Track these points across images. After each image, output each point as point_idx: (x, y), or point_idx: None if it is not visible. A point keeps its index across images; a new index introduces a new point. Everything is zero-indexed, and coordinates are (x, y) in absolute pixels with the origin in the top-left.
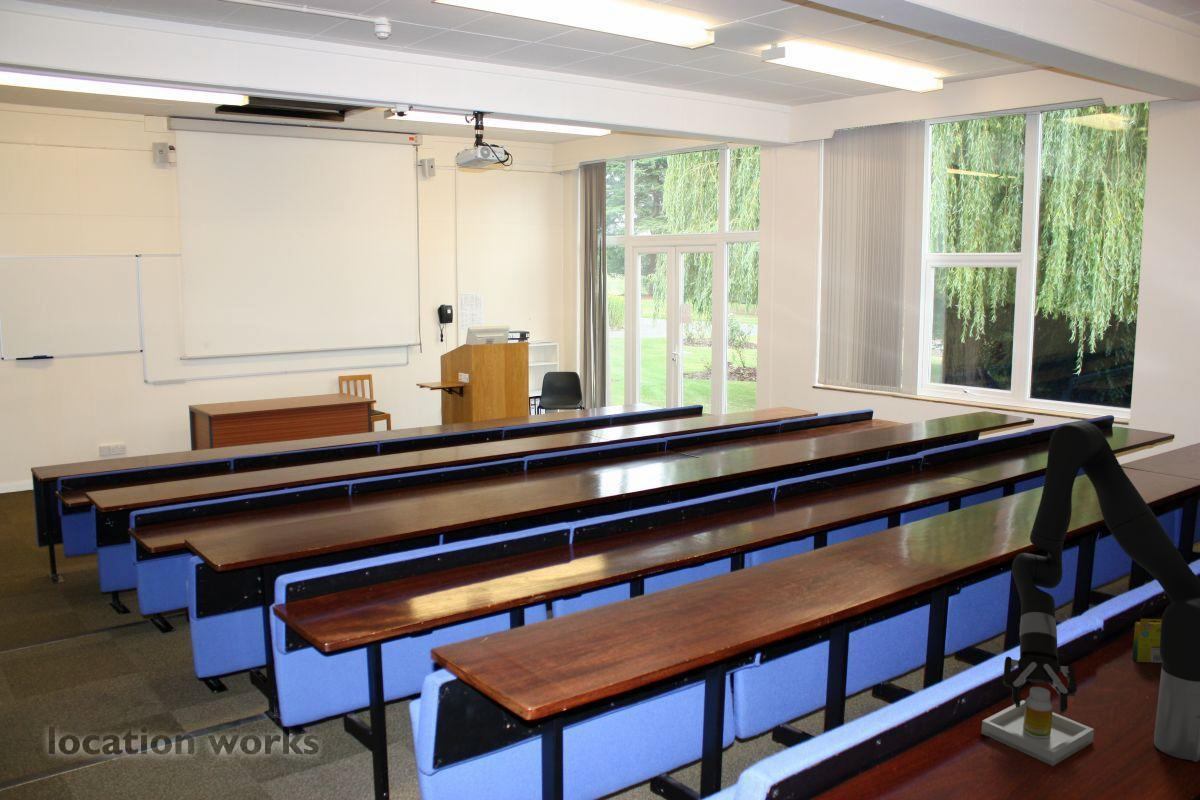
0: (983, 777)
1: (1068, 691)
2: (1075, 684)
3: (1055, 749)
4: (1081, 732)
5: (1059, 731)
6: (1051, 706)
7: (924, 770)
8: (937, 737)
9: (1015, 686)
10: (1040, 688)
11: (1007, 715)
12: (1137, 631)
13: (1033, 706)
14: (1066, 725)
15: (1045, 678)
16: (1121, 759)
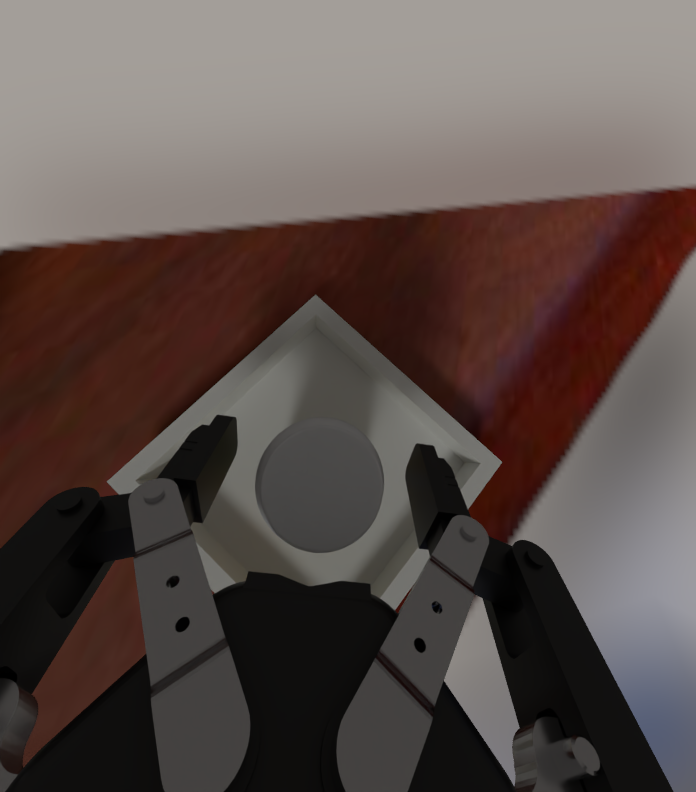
0: (486, 249)
1: (123, 506)
2: (13, 541)
3: (305, 312)
4: (171, 442)
5: (236, 503)
6: (270, 443)
7: (603, 261)
8: (586, 414)
9: (467, 516)
10: (311, 527)
11: (403, 554)
12: None
13: (359, 431)
14: (199, 532)
15: (260, 595)
16: (94, 383)
